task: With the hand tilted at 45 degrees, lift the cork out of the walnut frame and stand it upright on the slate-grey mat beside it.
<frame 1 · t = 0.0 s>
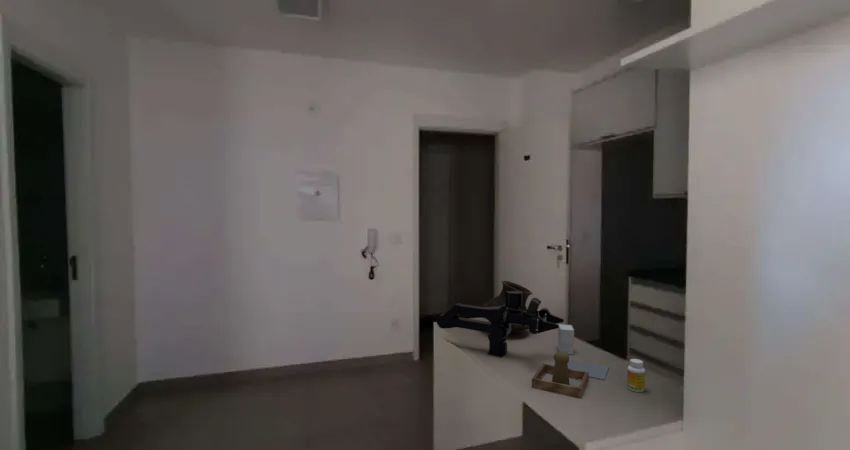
hand: (561, 323, 163), 17 cm above the kitchen counter, tool horizontal, fingers open, 9 cm apart
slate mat: (586, 369, 160), on the kitchen counter
supplement bottle: (635, 389, 144), on the kitchen counter
walnut frame: (560, 383, 147), on the kitchen counter
small box: (565, 351, 180), on the kitchen counter
cork: (560, 384, 147), resting in walnut frame
ceramic pot: (506, 333, 205), on the kitchen counter
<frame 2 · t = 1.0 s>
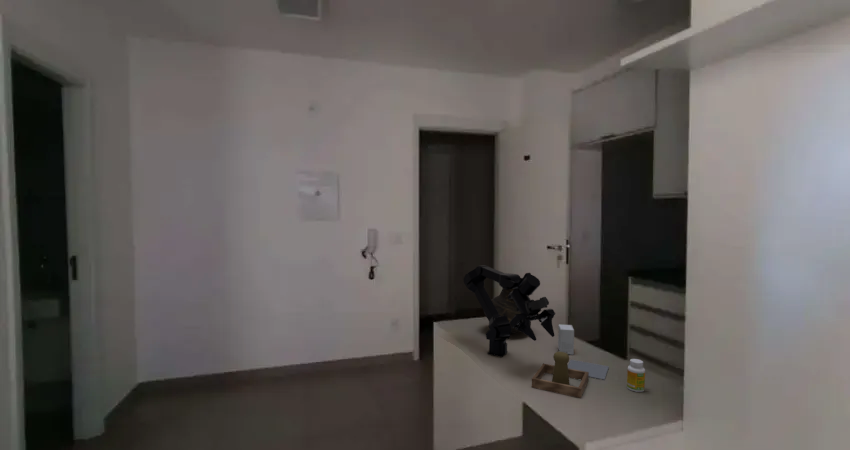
hand: (544, 338, 154), 14 cm above the kitchen counter, tool tilted 45°, fingers open, 9 cm apart
nothing on the kitchen counter moved.
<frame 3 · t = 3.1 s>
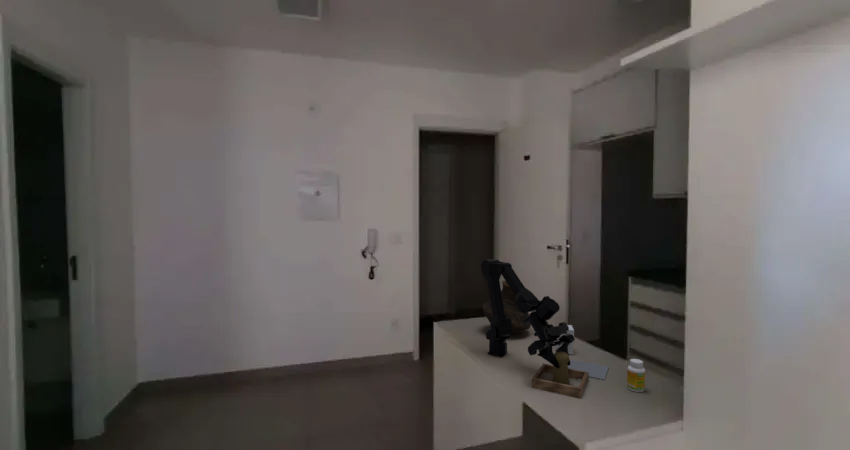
hand: (564, 366, 146), 7 cm above the kitchen counter, tool tilted 45°, fingers closed on cork, 5 cm apart
cork: (560, 384, 147), resting in walnut frame, touching gripper
everything else where it was.
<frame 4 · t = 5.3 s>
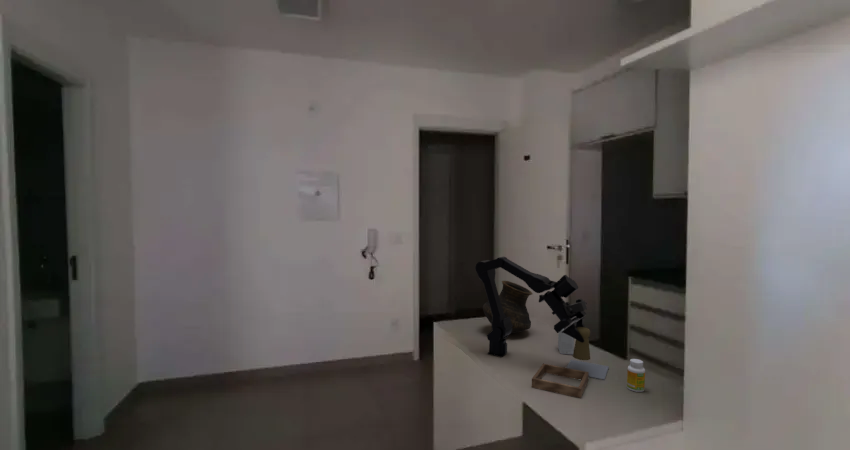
hand: (586, 340, 154), 13 cm above the kitchen counter, tool tilted 45°, fingers closed on cork, 5 cm apart
cork: (581, 357, 155), point 6 cm above the kitchen counter, touching gripper
everything else where it was.
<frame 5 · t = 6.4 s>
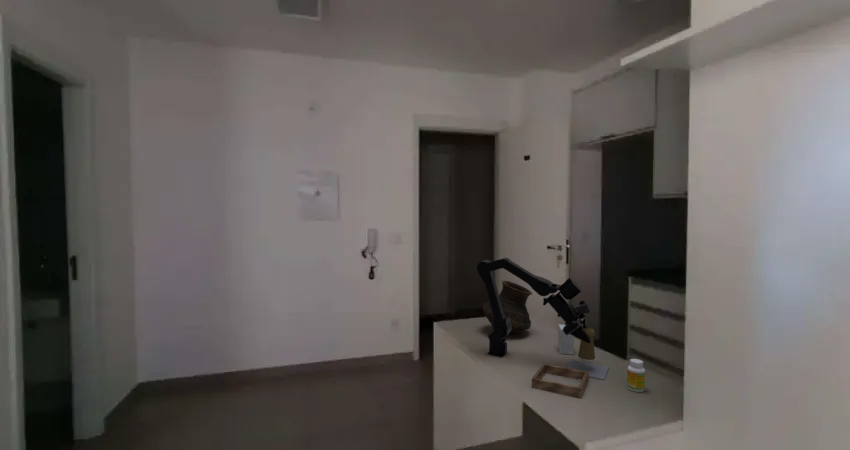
hand: (591, 340, 159), 11 cm above the kitchen counter, tool tilted 45°, fingers closed on cork, 5 cm apart
cork: (586, 357, 160), point 5 cm above the kitchen counter, touching gripper
everything else where it was.
when the fingers open (8 cm above the kitchen counter, at t = 7.5 s): cork stays where it is, resting on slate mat.
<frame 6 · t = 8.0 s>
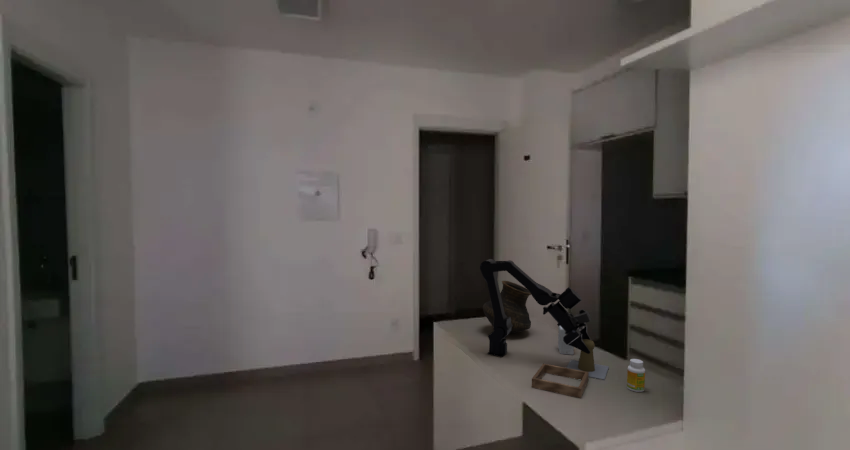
hand: (591, 349, 159), 8 cm above the kitchen counter, tool tilted 45°, fingers open, 9 cm apart
cork: (586, 369, 160), resting on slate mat
everything else where it was.
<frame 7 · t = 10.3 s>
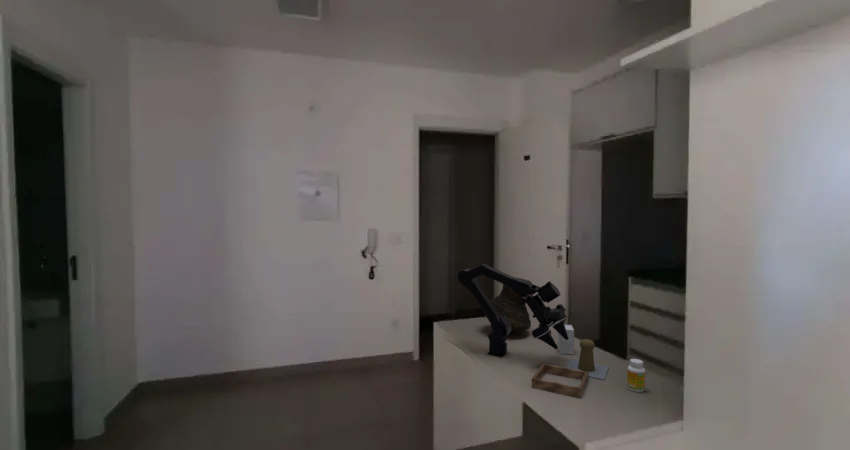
hand: (562, 344, 163), 9 cm above the kitchen counter, tool tilted 35°, fingers open, 9 cm apart
nothing on the kitchen counter moved.
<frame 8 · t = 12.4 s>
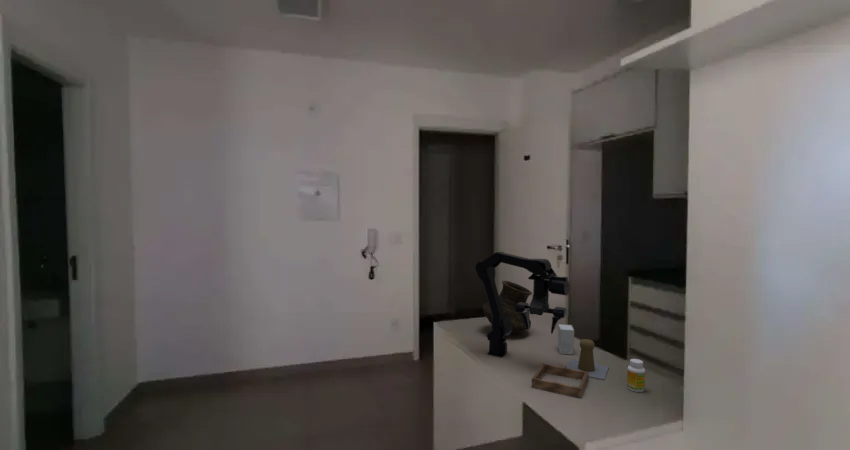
hand: (539, 331, 164), 13 cm above the kitchen counter, tool pointing down, fingers open, 9 cm apart
nothing on the kitchen counter moved.
at the end: cork inside the target area on the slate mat (0.2 cm from its centre), point 0.2 cm above the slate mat's base; cork tilted 0°; the gripper is holding nothing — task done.
